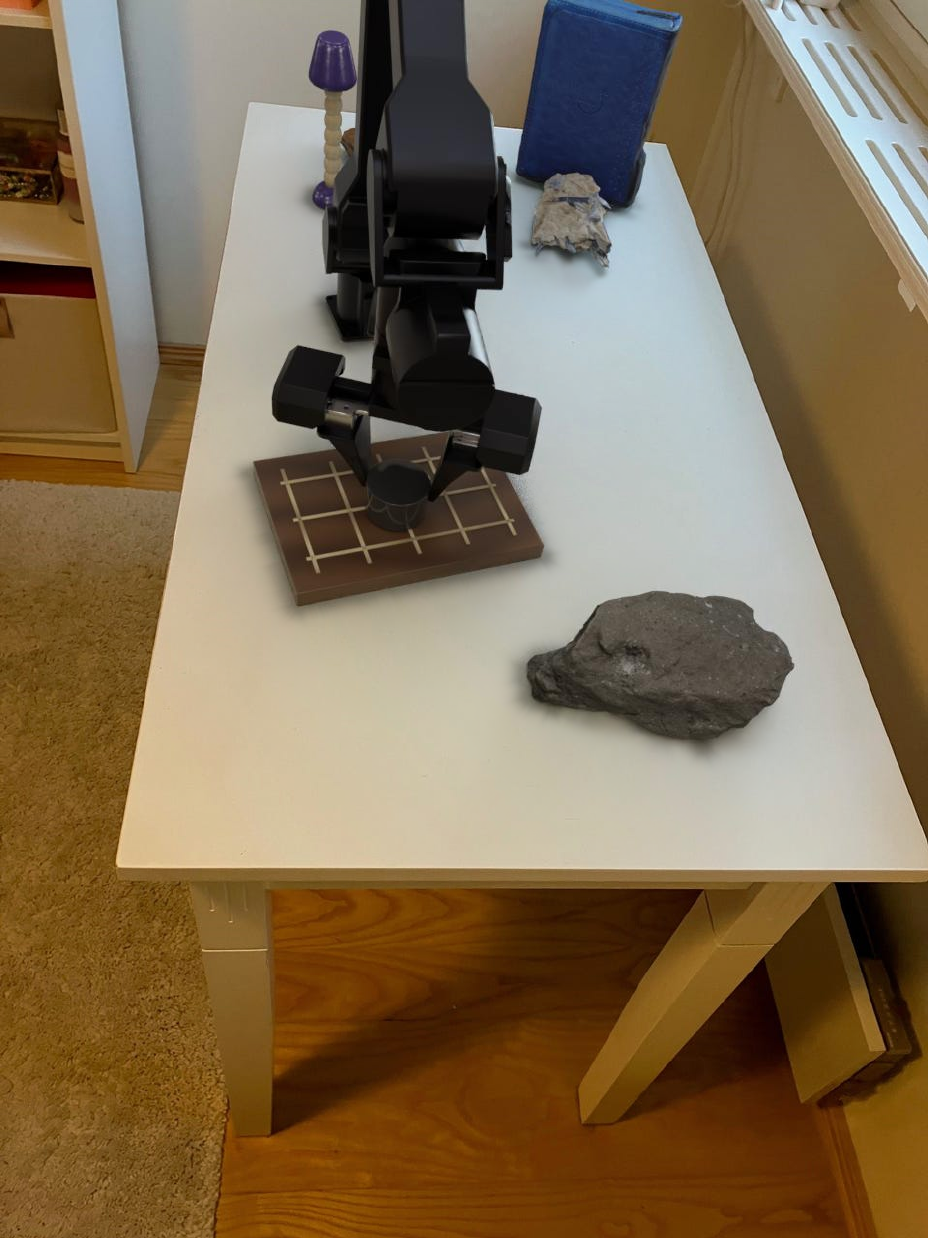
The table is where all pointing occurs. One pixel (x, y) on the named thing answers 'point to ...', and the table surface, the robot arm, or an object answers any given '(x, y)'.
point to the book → (596, 93)
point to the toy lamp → (331, 102)
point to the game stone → (397, 494)
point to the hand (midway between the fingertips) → (399, 490)
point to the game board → (375, 557)
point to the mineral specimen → (572, 216)
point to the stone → (667, 664)
